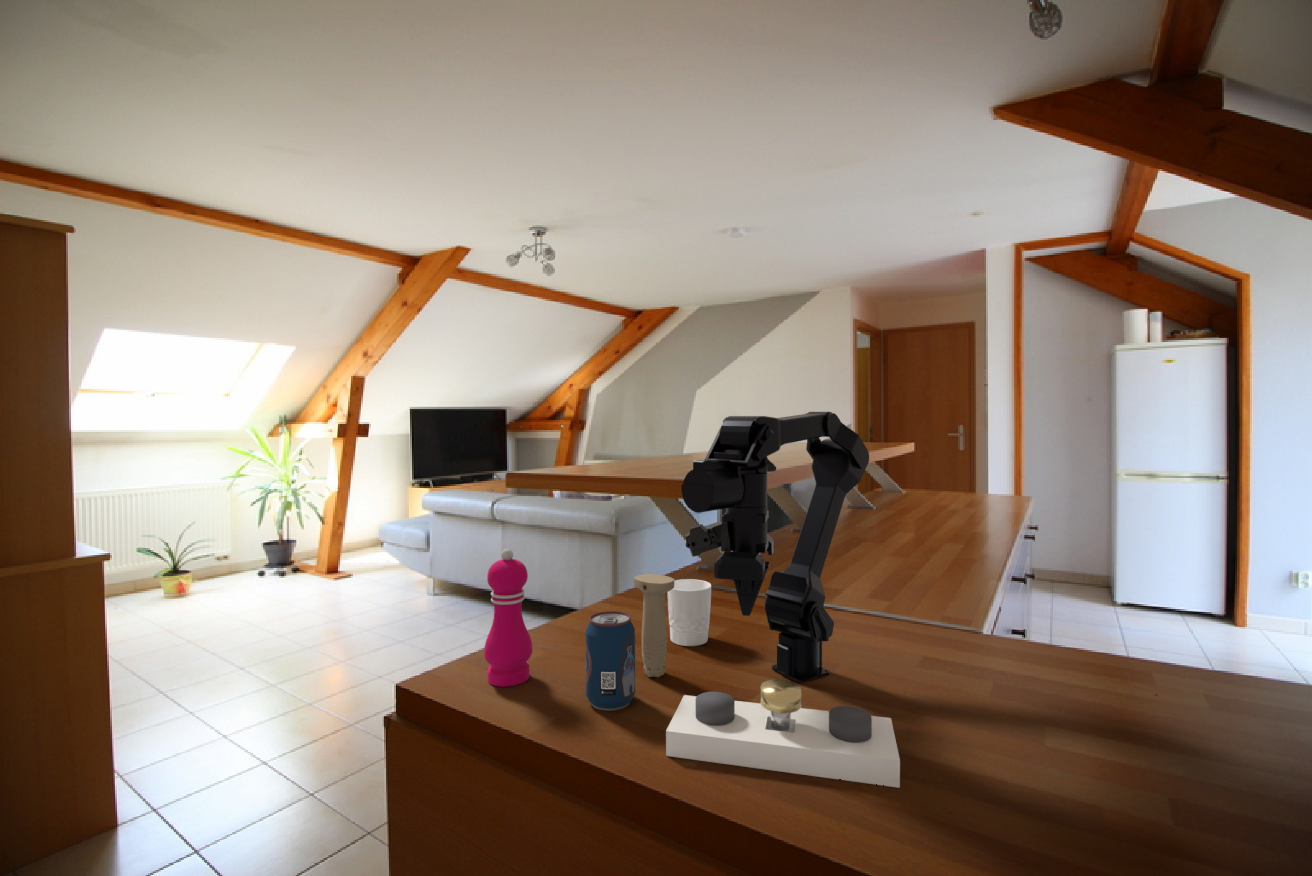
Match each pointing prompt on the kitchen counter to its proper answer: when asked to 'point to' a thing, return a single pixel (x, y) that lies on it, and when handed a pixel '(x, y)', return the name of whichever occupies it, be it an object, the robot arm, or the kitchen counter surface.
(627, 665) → the soda can
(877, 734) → the control plate
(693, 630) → the white cup
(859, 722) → the knob
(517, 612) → the pepper mill
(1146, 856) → the kitchen counter surface
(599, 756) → the kitchen counter surface
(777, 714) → the knob middle
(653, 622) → the handle
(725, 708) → the knob
